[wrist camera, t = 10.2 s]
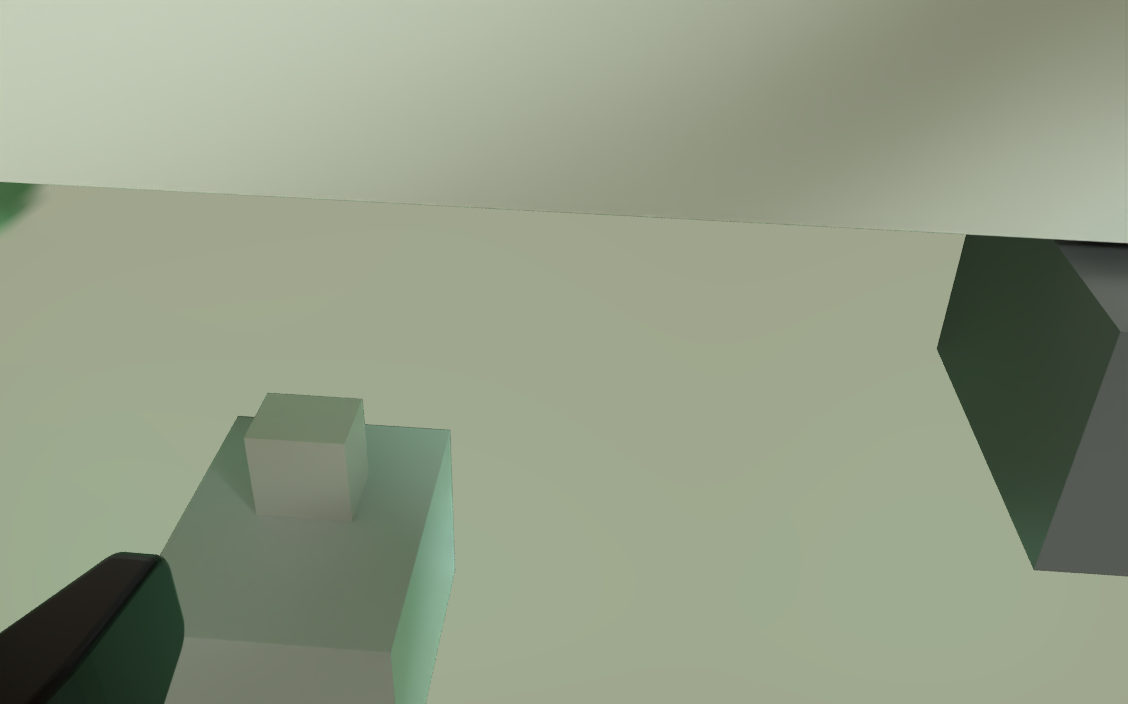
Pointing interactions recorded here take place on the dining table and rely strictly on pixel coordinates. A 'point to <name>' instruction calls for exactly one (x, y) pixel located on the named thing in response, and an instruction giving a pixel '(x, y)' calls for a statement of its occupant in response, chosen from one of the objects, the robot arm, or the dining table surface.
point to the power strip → (591, 106)
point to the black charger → (1048, 389)
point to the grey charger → (315, 560)
